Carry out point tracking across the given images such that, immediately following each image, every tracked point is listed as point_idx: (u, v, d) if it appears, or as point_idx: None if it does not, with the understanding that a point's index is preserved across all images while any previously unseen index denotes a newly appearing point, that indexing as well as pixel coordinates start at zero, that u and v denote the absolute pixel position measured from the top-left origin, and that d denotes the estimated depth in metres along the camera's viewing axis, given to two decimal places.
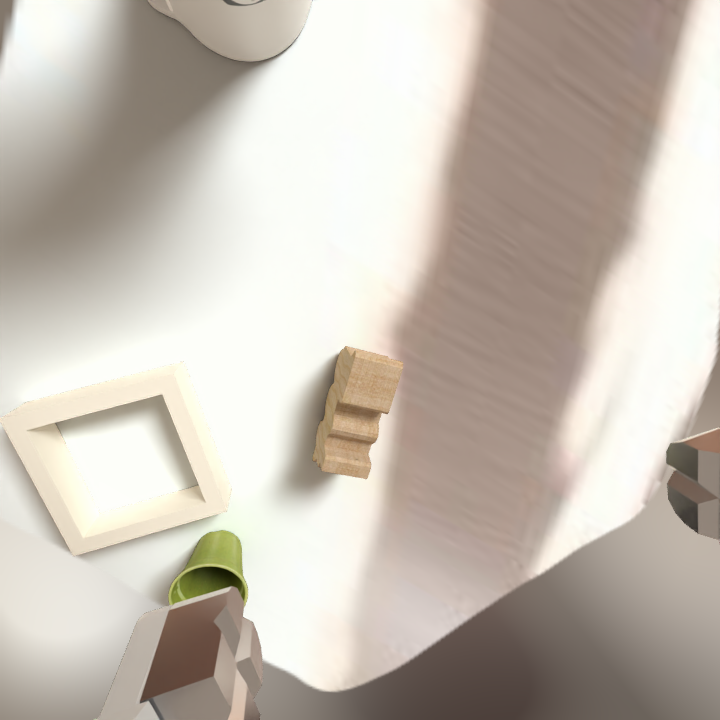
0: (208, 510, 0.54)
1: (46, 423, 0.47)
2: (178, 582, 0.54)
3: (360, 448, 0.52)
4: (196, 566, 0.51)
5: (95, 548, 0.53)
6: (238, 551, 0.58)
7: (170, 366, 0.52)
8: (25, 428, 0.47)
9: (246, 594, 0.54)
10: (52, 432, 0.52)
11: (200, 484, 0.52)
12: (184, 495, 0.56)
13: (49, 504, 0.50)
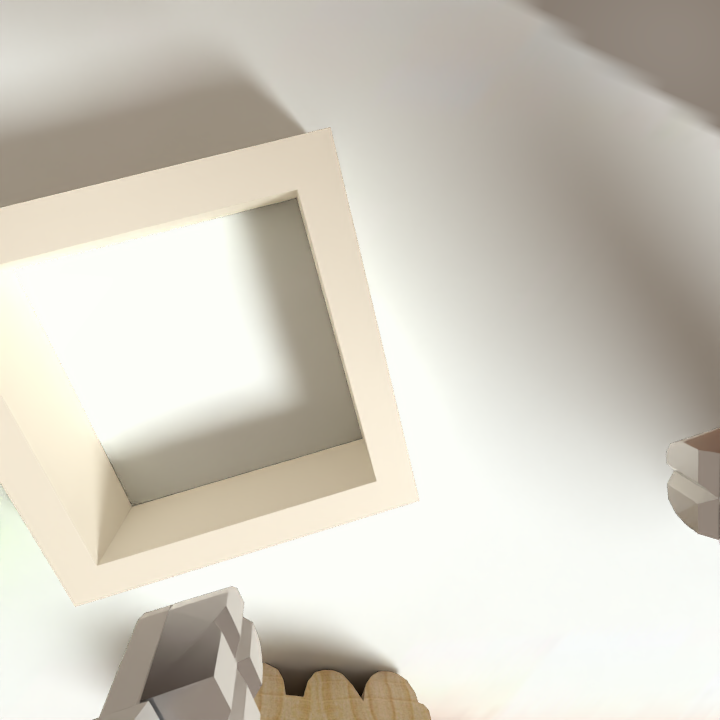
0: (74, 571, 0.22)
1: (315, 241, 0.19)
2: None
3: None
4: None
5: None
6: None
7: None
8: (302, 187, 0.18)
9: None
10: (256, 206, 0.22)
11: (150, 553, 0.22)
12: (96, 475, 0.24)
13: (58, 205, 0.17)
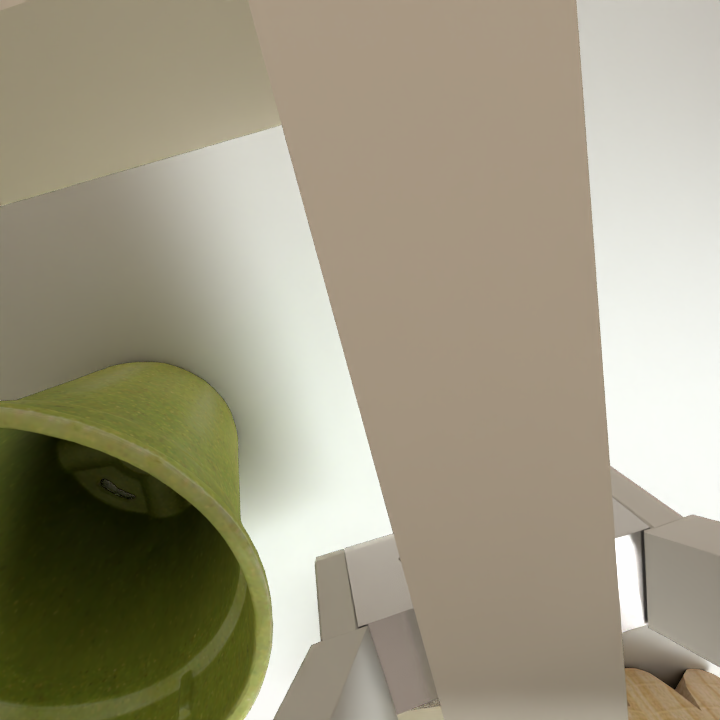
0: None
1: (347, 284, 0.03)
2: None
3: None
4: (259, 573, 0.08)
5: None
6: (186, 561, 0.14)
7: None
8: None
9: None
10: (173, 134, 0.06)
11: None
12: None
13: None
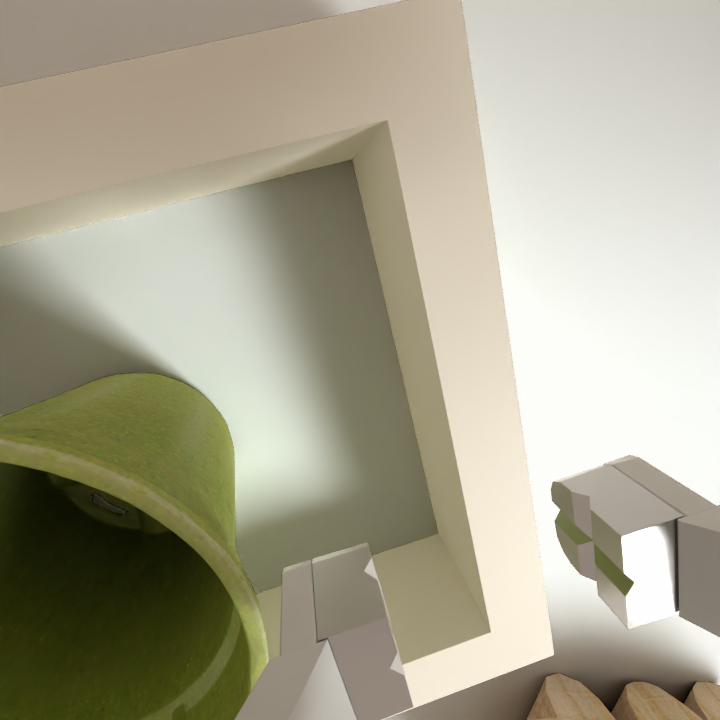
0: None
1: (416, 225, 0.10)
2: None
3: None
4: (254, 609, 0.07)
5: None
6: None
7: None
8: (397, 117, 0.09)
9: None
10: (287, 170, 0.12)
11: None
12: None
13: None
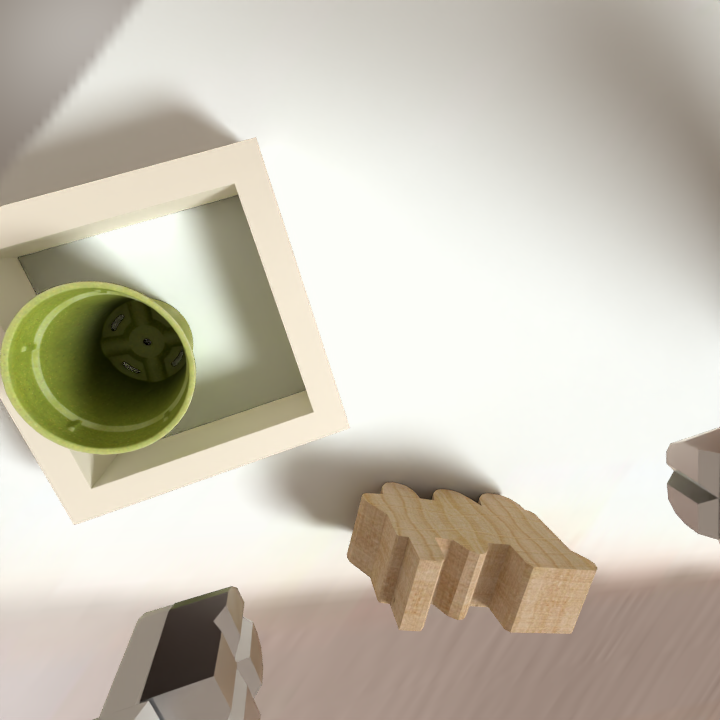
0: (72, 494, 0.27)
1: (250, 221, 0.25)
2: (117, 293, 0.23)
3: None
4: (188, 345, 0.23)
5: None
6: (167, 391, 0.29)
7: None
8: (238, 182, 0.25)
9: (110, 451, 0.24)
10: (207, 200, 0.28)
11: (134, 477, 0.28)
12: None
13: (55, 200, 0.23)
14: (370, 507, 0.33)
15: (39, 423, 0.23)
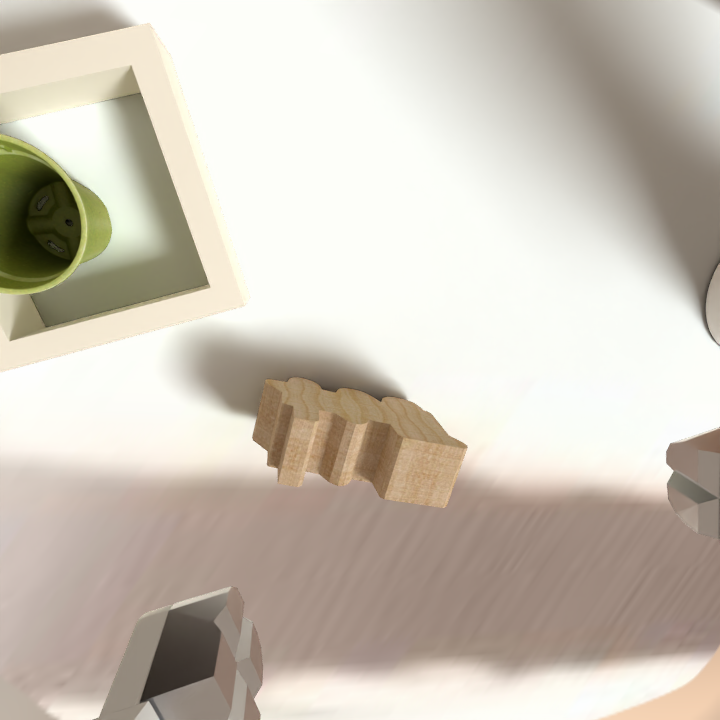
0: None
1: (147, 102, 0.29)
2: (21, 153, 0.27)
3: (311, 460, 0.35)
4: (80, 199, 0.27)
5: None
6: None
7: (244, 283, 0.37)
8: (134, 64, 0.28)
9: (12, 291, 0.27)
10: (119, 90, 0.31)
11: (47, 334, 0.32)
12: None
13: None
14: (270, 388, 0.37)
15: None
